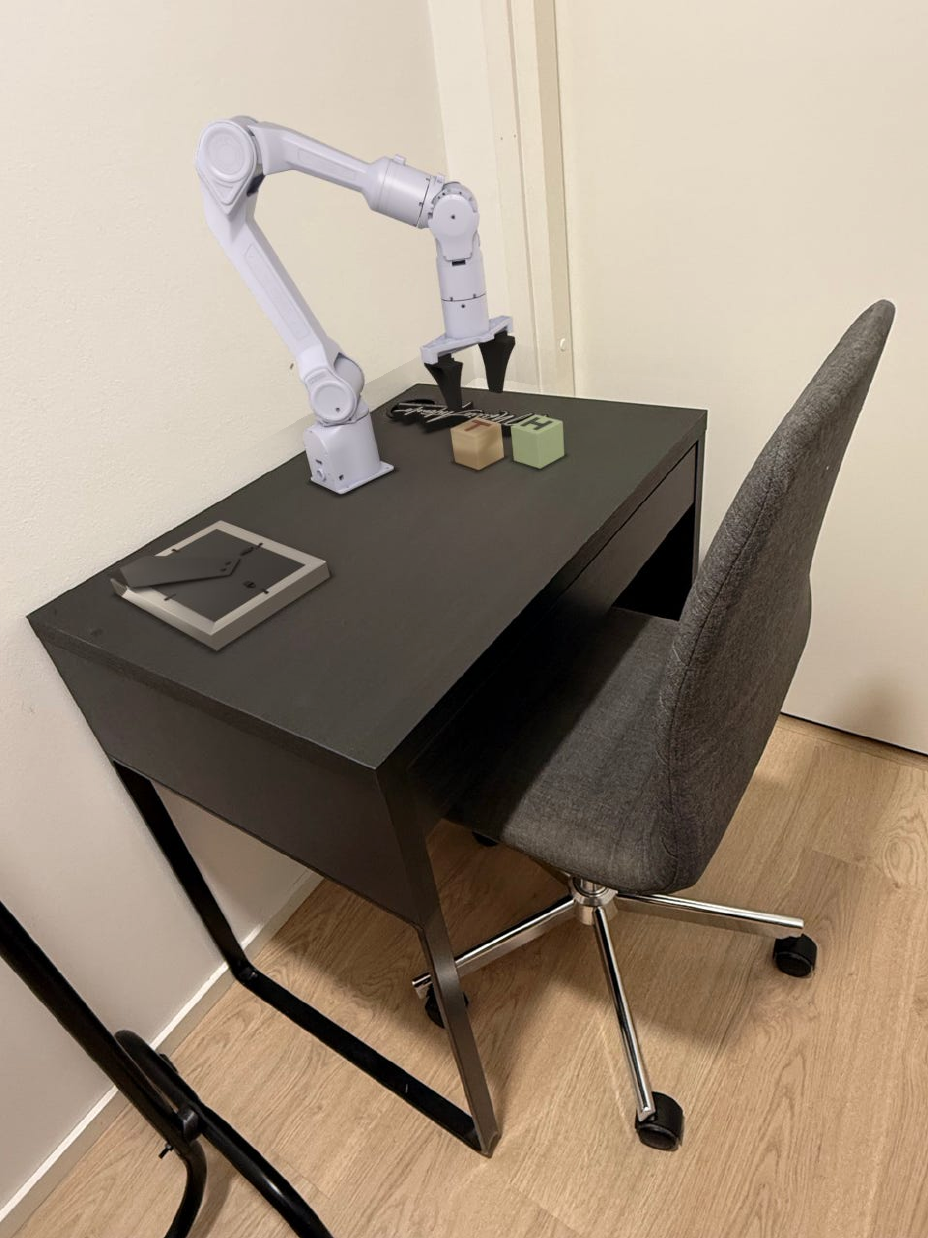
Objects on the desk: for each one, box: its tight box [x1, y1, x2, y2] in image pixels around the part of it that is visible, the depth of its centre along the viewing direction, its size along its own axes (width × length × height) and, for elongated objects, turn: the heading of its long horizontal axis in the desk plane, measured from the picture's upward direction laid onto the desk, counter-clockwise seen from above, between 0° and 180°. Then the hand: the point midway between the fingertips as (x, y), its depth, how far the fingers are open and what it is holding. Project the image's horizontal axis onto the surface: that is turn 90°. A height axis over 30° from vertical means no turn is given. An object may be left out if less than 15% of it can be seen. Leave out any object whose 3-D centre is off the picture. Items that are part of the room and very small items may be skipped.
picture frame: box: [107, 520, 331, 652], centre depth 86 cm, size 16×3×21 cm
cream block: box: [450, 417, 505, 471], centre depth 105 cm, size 5×5×5 cm
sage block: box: [511, 413, 565, 469], centre depth 103 cm, size 5×5×5 cm
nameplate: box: [391, 400, 550, 437], centre depth 118 cm, size 27×2×10 cm
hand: (476, 401), depth 101 cm, fingers open, 7 cm apart
